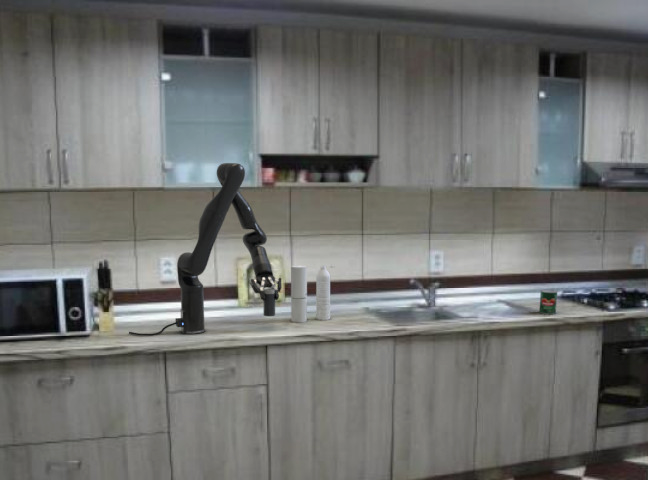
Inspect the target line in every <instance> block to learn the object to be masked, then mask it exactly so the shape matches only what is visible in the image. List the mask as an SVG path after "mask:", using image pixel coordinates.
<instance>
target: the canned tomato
mask: <svg viewBox="0 0 648 480" xmlns="http://www.w3.org/2000/svg"><path fill="white" fill-rule="evenodd" d="M539 298H540V299H539V308H538V309H539V311H538V313H539V314H542V315H556V314H557V305H558V304H557V303H558V290H554V289H542V290H540V297H539Z"/></svg>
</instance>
